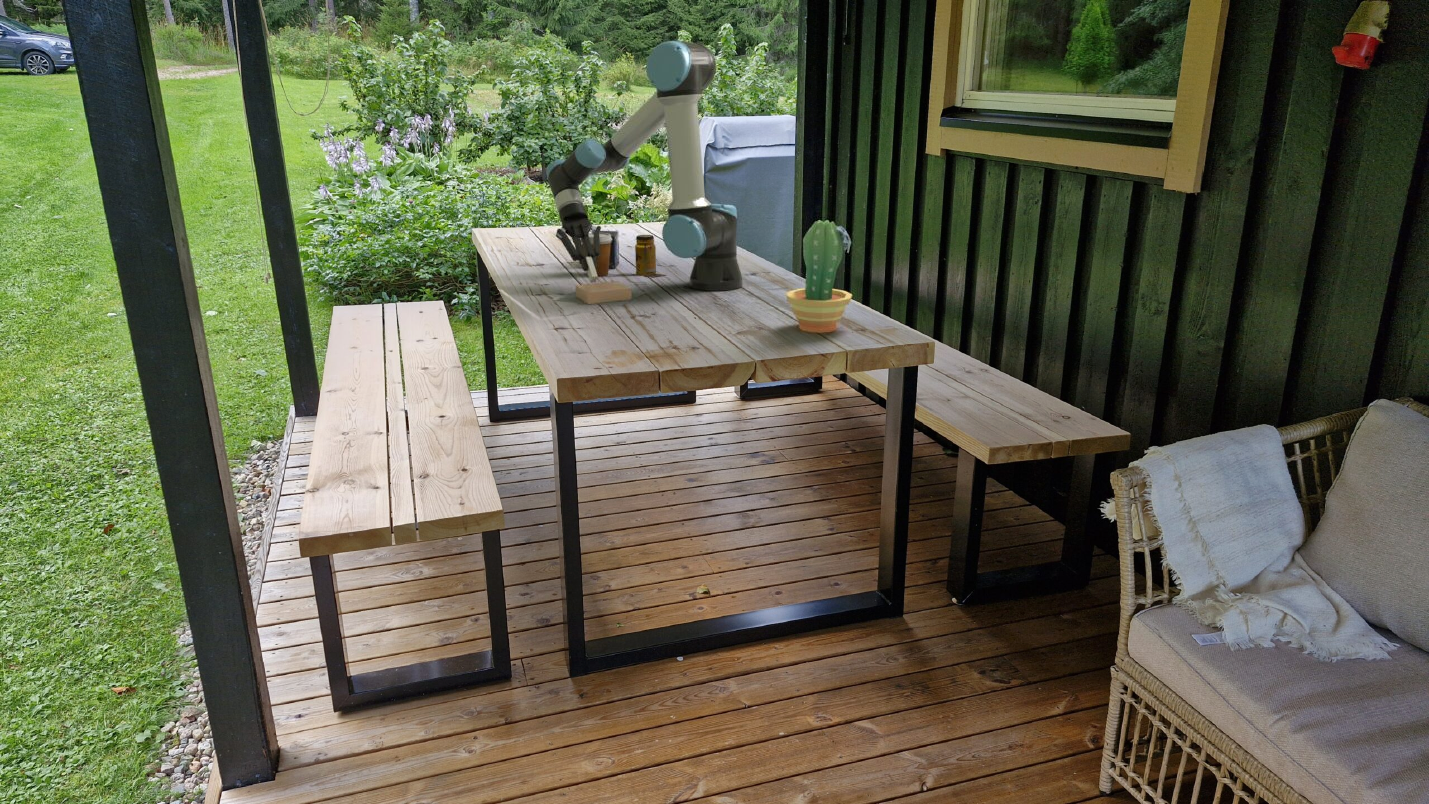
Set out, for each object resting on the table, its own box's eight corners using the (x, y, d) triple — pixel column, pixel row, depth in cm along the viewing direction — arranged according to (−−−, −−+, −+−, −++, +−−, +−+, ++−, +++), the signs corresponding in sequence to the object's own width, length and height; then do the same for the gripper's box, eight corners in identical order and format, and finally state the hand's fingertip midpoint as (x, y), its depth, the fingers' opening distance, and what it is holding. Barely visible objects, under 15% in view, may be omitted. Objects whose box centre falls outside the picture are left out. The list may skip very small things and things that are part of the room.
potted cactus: (836, 339, 208) (840, 227, 200) (774, 331, 215) (776, 222, 207) (860, 324, 220) (866, 219, 212) (801, 317, 228) (804, 214, 219)
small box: (616, 269, 287) (615, 235, 283) (595, 269, 287) (594, 235, 284) (620, 263, 297) (619, 230, 293) (600, 263, 297) (598, 230, 293)
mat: (646, 294, 252) (646, 292, 252) (620, 308, 237) (620, 305, 237) (583, 290, 258) (583, 287, 258) (554, 302, 243) (554, 300, 242)
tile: (575, 285, 245) (587, 292, 237) (617, 281, 250) (631, 288, 242) (575, 297, 246) (588, 304, 238) (617, 292, 252) (631, 300, 243)
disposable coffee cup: (611, 278, 274) (610, 237, 270) (579, 278, 274) (577, 237, 270) (615, 271, 283) (613, 232, 279) (584, 271, 283) (582, 232, 279)
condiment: (630, 275, 278) (629, 235, 274) (653, 272, 283) (653, 232, 279) (643, 279, 272) (642, 238, 268) (667, 275, 277) (666, 235, 273)
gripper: (591, 217, 264) (613, 285, 255) (546, 219, 258) (568, 289, 250) (596, 200, 258) (619, 269, 249) (551, 202, 252) (573, 273, 243)
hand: (594, 279), depth 249 cm, fingers closed
